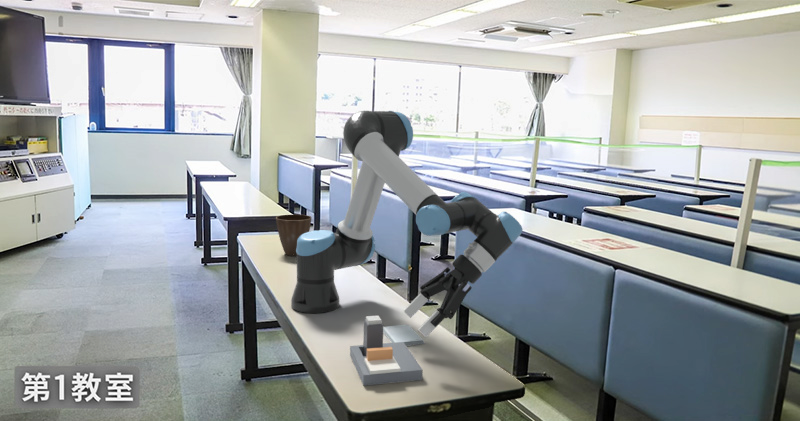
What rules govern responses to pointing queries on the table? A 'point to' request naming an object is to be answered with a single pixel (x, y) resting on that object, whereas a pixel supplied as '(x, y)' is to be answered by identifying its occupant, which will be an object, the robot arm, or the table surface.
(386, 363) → the shutter
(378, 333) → the grey block
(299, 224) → the plant pot
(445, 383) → the table surface
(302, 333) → the table surface
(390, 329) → the hard drive
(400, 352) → the socket plate
